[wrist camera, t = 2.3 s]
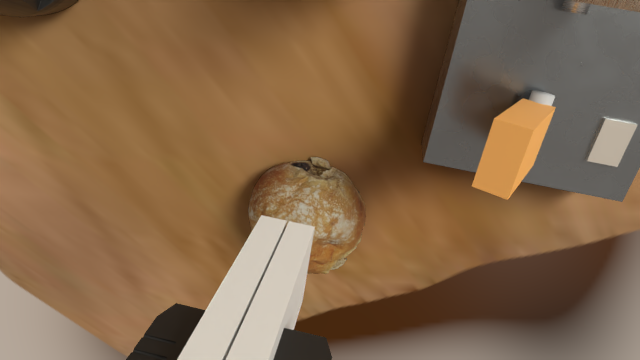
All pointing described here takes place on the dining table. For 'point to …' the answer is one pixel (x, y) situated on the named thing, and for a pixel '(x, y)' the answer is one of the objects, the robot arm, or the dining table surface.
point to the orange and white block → (514, 144)
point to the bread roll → (313, 207)
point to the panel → (544, 88)
